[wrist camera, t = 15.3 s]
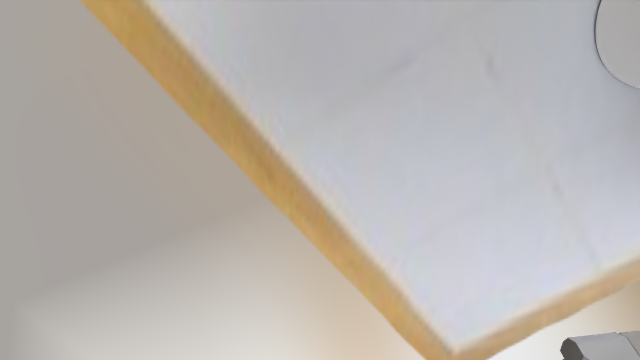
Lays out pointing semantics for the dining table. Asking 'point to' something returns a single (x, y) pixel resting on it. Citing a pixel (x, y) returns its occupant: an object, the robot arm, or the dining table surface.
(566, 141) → the dining table surface
